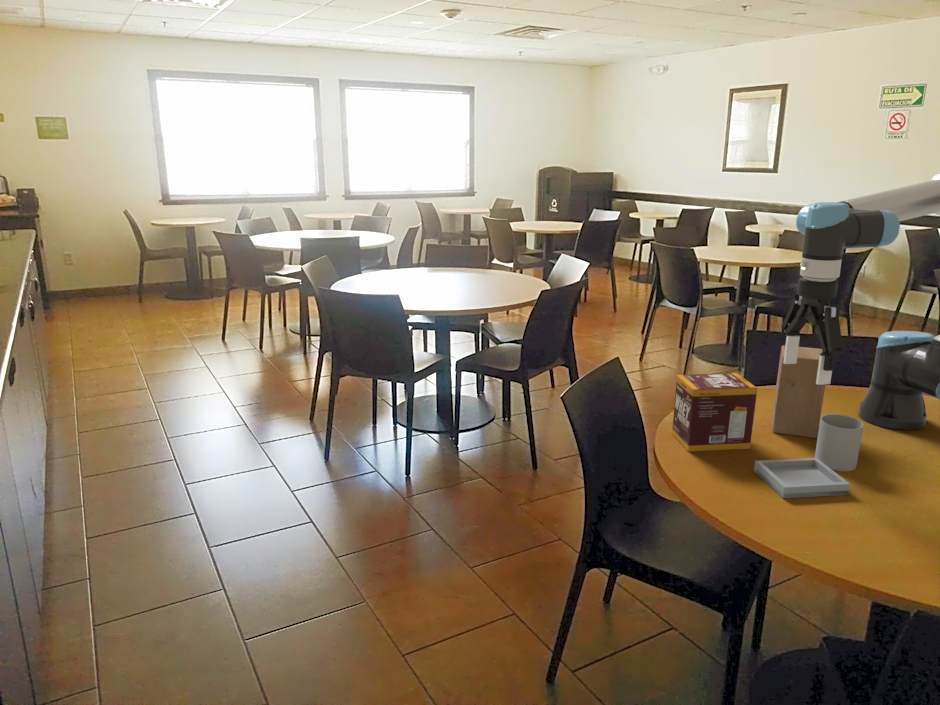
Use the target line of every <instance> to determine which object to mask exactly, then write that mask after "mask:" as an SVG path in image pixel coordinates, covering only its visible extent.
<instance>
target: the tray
mask: <svg viewBox="0 0 940 705" xmlns="http://www.w3.org/2000/svg"><path fill="white" fill-rule="evenodd" d="M753 472H754V473H755V474H757V476H758V477H760V478H761V479H762V480H763V481H764V482H765V483H766V484H767V485H768V486H769V487H770V488H771V489H772V490H773V491H774V492H775V493H776V494H778V496H779V497H780V498H782V499H795V498H814V497H815V498H816V497H830V496H831V497H833V496H834V497H835V496H847V495H848V496H849V492H850V487H851V482H848V481H847V480H846V479H845V478H843V476H841V475H840V474H838V473H837V472H836V471H835V470H832V469H830V468H829V467H828V466H826V465H825V464H824V463H823V462H821V461H820V460H819V459H817V458H815V457H805V458H804V457H803V458H783V459H782V458H781V459H763V460H755V461H754V468H753Z"/></svg>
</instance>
